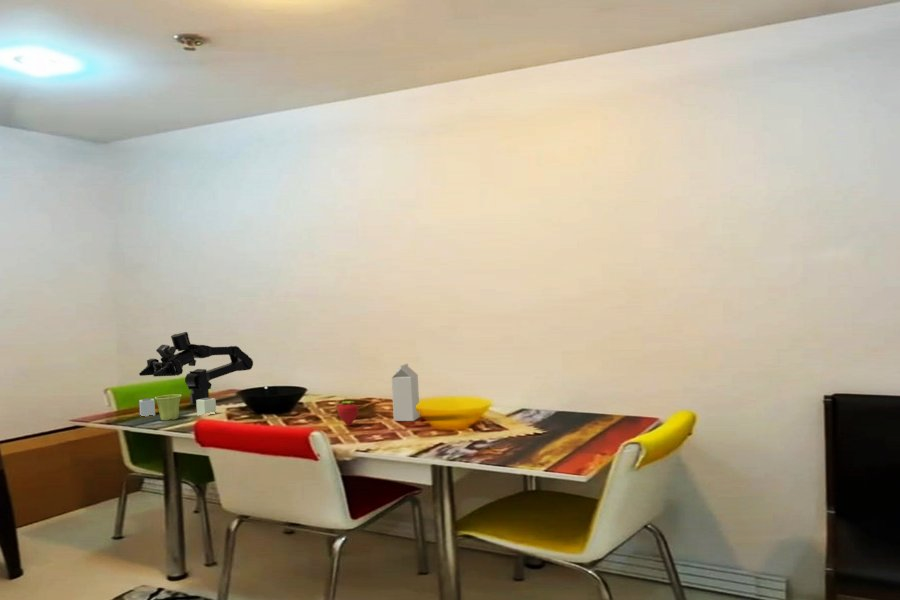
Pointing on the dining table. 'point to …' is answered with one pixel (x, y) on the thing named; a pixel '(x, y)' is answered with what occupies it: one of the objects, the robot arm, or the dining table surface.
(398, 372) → the milk carton
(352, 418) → the strawberry
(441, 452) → the dining table surface
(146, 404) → the slate block
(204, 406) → the sage block
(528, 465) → the dining table surface
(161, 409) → the plant pot
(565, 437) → the dining table surface
